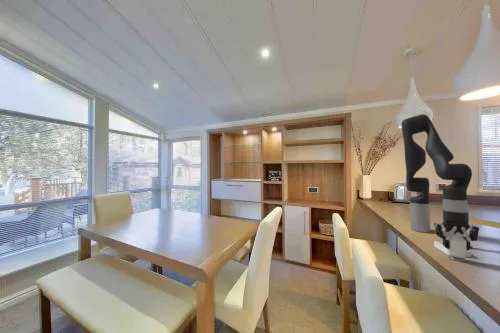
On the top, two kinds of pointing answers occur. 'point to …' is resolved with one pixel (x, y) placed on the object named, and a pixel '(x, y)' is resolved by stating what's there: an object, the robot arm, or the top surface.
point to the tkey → (484, 222)
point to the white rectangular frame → (442, 248)
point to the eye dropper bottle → (457, 246)
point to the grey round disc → (457, 259)
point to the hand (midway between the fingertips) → (456, 248)
